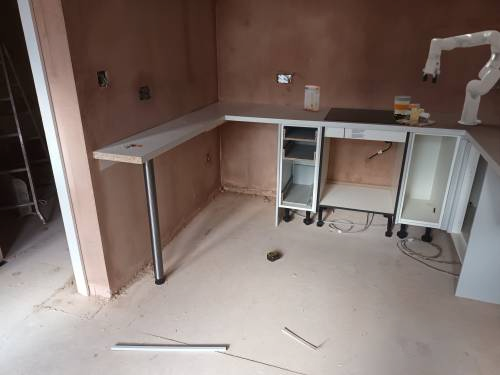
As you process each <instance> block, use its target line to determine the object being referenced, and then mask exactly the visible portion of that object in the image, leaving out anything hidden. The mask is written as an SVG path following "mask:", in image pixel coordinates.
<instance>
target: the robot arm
mask: <svg viewBox="0 0 500 375" xmlns="http://www.w3.org/2000/svg"><path fill="white" fill-rule="evenodd" d="M481 45H490V51H491V55H490V59H489V60H488V61H487V62H486V64H484V66H483V67H482V68H481V70H480V71H479V73H478V78H479V79H480V80H479V79H472V80H470V81H469V82H468V83H467V85H466V88H465V99H464V103H463V109H462V113H461V118H460V120H458V121H457V123H458V124H460V125H465V126H477V125H478V124H481V123H482V120H480V119H478V117H477V115H478V111H479V106H480V102H481V96H484V95H486V94H487V93H489V91H490V90H492V88H493V87H494V86H495V84H496V83H497V82H498V81H499V79H500V32H499V31H497V30H483V31H479V32H474V33H467V34H463V35H457V36H450V37H446V38H432V39H431V41H430V47H429V53H428V57H427V60H426V63H425V66H424V68H422V75H423V77H422V82H428V77H429V76H428V75H432V76H433V77H432V79H431V84H436V83H437V79H438V77H439V76H440V73H441V70H440V68H441V67H440V66H441V54H442V51H443V50H444V51H451V50H454V49H455V48H471V47H475V46H476V47H477V46H481Z"/></svg>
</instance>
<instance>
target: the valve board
mask: <svg viewBox="0 0 500 375" xmlns="http://www.w3.org/2000/svg"><path fill="white" fill-rule="evenodd" d="M397 122H398V124H402V123H405V124H404V125H407V124H410V125H409V126H412V125H415V126H414V127H417V126H420V127H419V128H422V127H421V126H423V127H427V126H431V125H434V124H436V121H435V120H431V119H430V120H429V119H425V118H421V121H420V122H414V121H410V116H408V115H406V116H404V118H403V119H402V118H401V119H396V122H395V123H397Z"/></svg>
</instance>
